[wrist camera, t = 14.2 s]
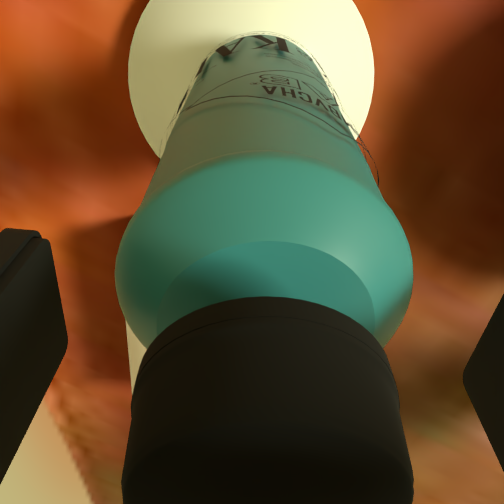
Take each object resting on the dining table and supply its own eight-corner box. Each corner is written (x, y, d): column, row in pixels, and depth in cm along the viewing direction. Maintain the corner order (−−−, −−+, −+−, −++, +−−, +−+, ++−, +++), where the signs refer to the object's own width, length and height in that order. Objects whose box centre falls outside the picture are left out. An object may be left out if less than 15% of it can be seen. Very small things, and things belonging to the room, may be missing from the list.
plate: (398, -39, 20) (404, -38, 19) (342, 200, 27) (345, 208, 26) (124, -70, 19) (119, -71, 18) (138, 183, 26) (134, 191, 25)
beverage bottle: (302, 169, 24) (407, 637, 8) (181, 141, 24) (15, 603, 7) (344, 42, 21) (697, 414, 4) (203, 3, 20) (-30, 287, 3)
